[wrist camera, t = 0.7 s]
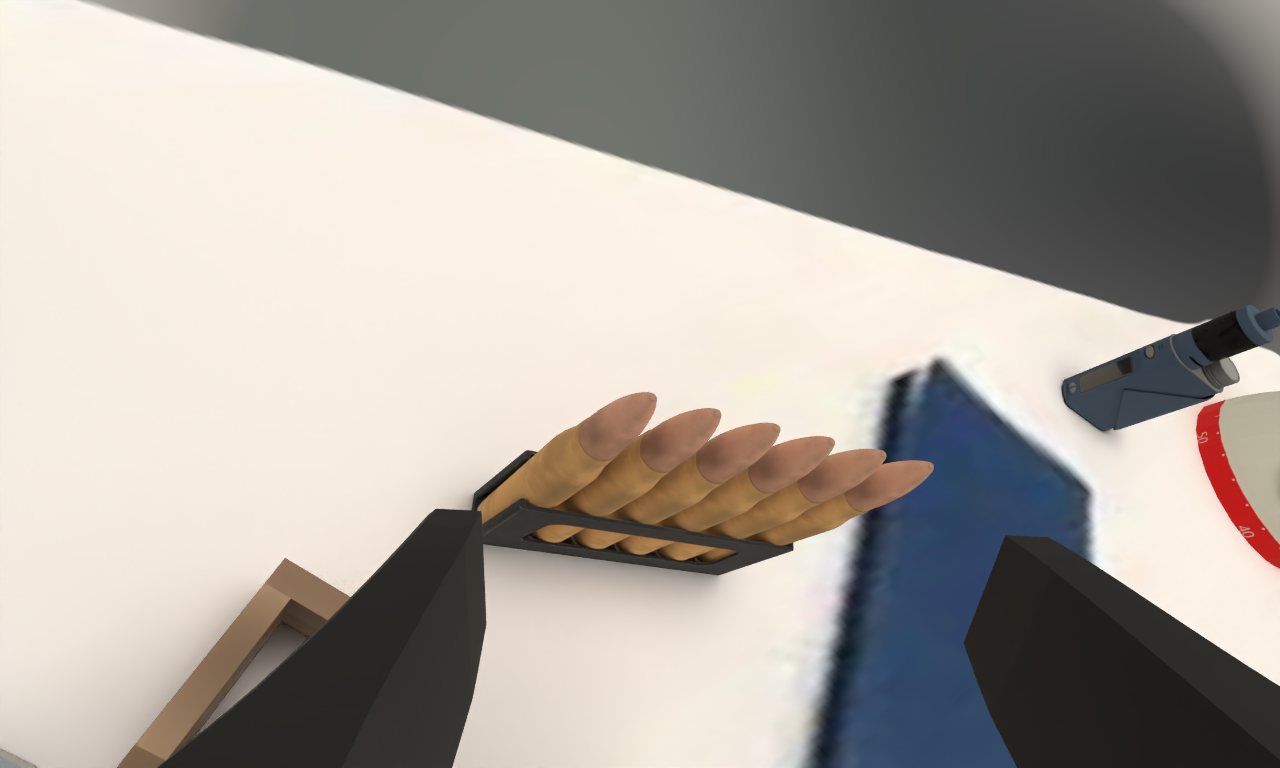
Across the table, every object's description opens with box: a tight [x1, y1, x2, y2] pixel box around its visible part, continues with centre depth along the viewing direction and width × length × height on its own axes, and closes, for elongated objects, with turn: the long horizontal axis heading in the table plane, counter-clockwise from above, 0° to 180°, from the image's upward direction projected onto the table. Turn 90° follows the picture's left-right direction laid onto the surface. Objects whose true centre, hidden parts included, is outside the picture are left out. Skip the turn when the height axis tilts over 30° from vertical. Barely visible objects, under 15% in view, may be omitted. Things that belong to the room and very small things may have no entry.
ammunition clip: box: [472, 392, 934, 575], centre depth 22 cm, size 11×2×12 cm, turn 91°
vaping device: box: [1063, 305, 1280, 431], centre depth 43 cm, size 3×5×12 cm, turn 71°
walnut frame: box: [117, 558, 351, 768], centre depth 18 cm, size 5×5×5 cm
